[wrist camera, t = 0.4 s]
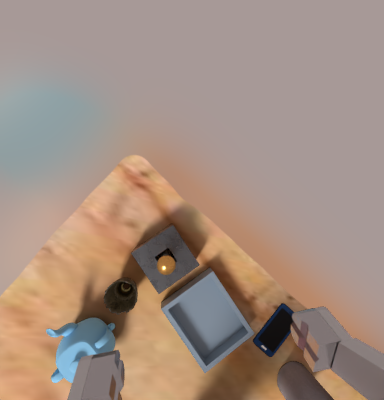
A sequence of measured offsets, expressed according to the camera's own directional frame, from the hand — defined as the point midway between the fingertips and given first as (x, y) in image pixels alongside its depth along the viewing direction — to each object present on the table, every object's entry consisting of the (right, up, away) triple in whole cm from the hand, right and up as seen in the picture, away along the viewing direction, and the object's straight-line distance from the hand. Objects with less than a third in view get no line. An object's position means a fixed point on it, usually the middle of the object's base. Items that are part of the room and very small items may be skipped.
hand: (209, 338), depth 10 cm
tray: (+3, -25, +50) cm, 56 cm away
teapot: (-27, -28, +47) cm, 61 cm away
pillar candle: (+28, -45, +53) cm, 75 cm away
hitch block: (-8, -8, +50) cm, 51 cm away
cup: (-18, -16, +48) cm, 54 cm away
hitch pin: (-8, -8, +50) cm, 51 cm away
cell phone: (+23, -31, +53) cm, 66 cm away
